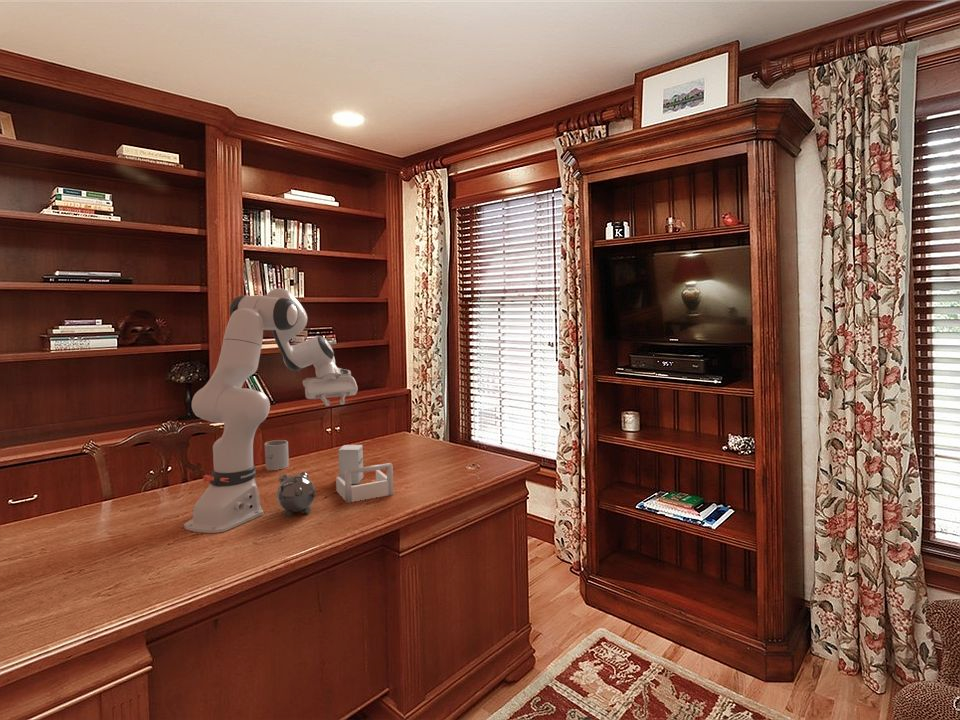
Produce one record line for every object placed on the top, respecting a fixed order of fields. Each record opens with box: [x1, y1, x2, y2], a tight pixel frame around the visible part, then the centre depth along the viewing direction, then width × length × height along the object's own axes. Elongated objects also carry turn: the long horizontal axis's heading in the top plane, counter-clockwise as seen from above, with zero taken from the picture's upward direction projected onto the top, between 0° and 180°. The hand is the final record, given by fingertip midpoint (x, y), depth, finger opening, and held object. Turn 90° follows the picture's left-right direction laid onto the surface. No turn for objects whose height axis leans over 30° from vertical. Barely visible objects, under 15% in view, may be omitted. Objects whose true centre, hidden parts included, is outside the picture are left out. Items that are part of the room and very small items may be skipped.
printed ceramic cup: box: [264, 439, 290, 471], centre depth 212 cm, size 12×9×10 cm
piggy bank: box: [276, 471, 316, 518], centre depth 164 cm, size 11×15×12 cm
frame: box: [335, 462, 394, 504], centre depth 180 cm, size 14×16×11 cm
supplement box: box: [337, 444, 364, 485], centre depth 193 cm, size 7×7×13 cm
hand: (335, 404), depth 207 cm, fingers open, 4 cm apart
